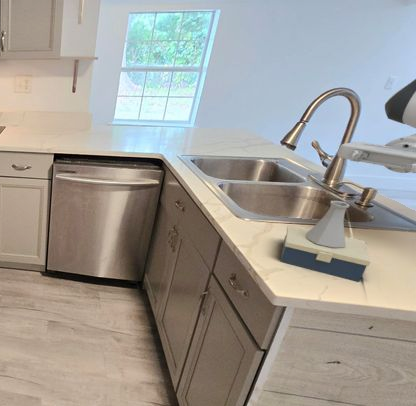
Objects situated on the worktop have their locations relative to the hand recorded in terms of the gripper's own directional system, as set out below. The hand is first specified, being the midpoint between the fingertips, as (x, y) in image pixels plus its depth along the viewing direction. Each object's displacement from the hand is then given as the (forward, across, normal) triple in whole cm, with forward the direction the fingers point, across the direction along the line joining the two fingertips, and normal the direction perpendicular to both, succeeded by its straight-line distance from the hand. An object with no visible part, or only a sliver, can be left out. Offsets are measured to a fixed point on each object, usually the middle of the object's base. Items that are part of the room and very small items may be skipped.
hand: (381, 162), depth 85 cm
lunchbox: (+12, 0, +24) cm, 26 cm away
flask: (+12, -1, +18) cm, 22 cm away
